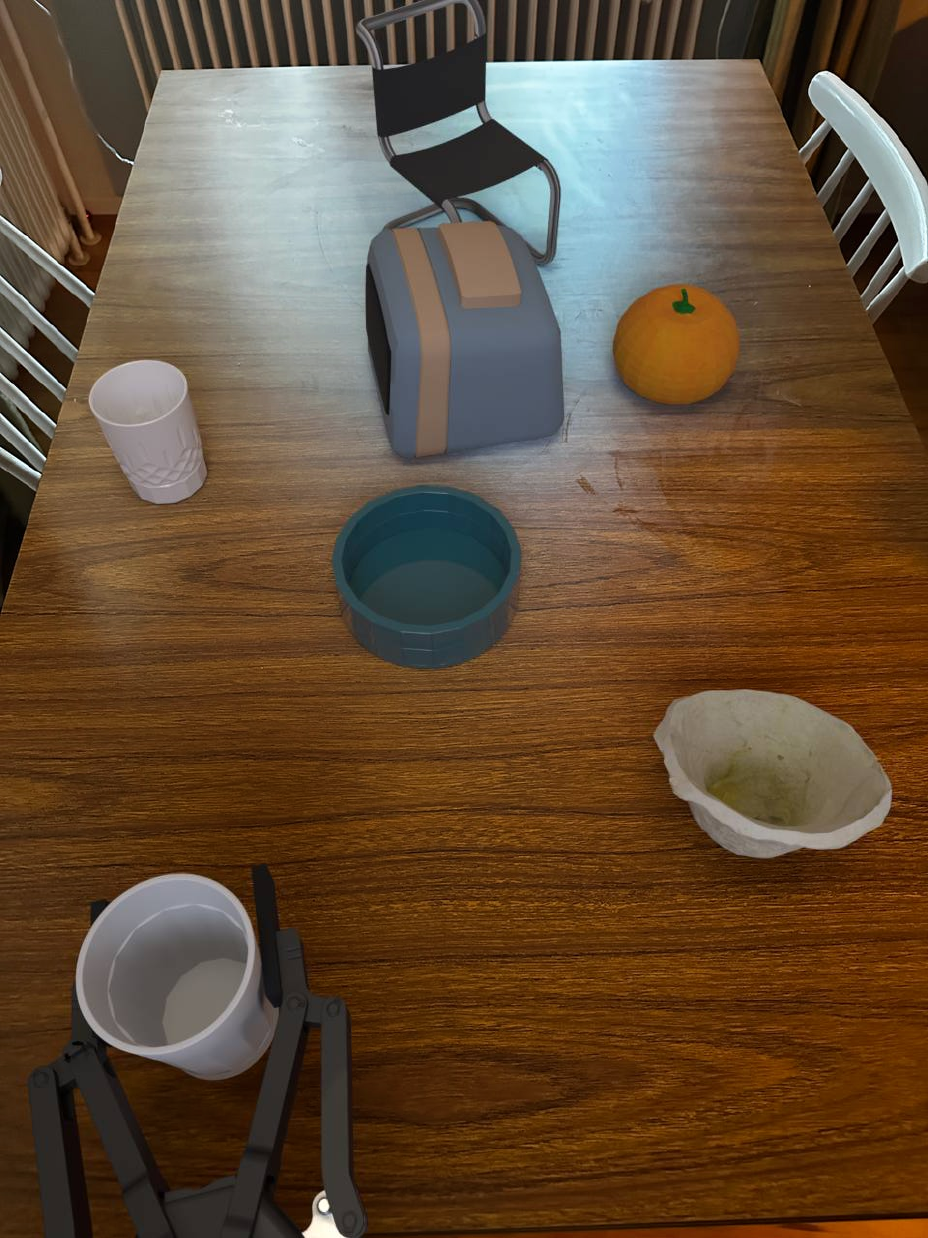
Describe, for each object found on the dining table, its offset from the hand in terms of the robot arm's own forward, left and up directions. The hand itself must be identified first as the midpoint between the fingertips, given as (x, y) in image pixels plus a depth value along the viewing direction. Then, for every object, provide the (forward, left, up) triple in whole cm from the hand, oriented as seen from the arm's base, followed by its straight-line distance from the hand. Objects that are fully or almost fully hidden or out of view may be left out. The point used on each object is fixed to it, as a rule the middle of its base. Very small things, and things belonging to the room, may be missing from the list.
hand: (185, 892), depth 50 cm
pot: (+18, +26, -14) cm, 35 cm away
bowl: (+36, +3, -14) cm, 39 cm away
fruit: (+46, +46, -14) cm, 67 cm away
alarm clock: (+26, +48, -14) cm, 56 cm away
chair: (+31, +70, -14) cm, 78 cm away
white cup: (-2, +44, -14) cm, 46 cm away
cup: (0, -5, -7) cm, 9 cm away
